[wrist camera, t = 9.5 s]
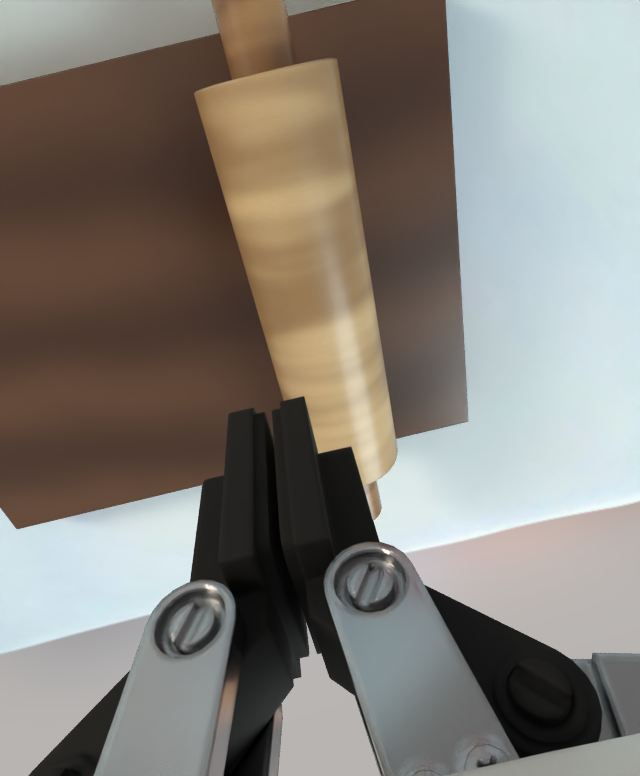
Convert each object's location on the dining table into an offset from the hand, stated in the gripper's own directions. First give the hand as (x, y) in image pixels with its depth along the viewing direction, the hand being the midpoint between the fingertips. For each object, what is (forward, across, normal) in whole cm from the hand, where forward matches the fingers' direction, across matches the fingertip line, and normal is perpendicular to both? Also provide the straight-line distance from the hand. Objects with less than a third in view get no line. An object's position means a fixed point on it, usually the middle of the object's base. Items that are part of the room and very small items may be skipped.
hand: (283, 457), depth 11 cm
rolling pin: (+11, -2, 0) cm, 11 cm away
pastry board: (+12, +4, 0) cm, 13 cm away
